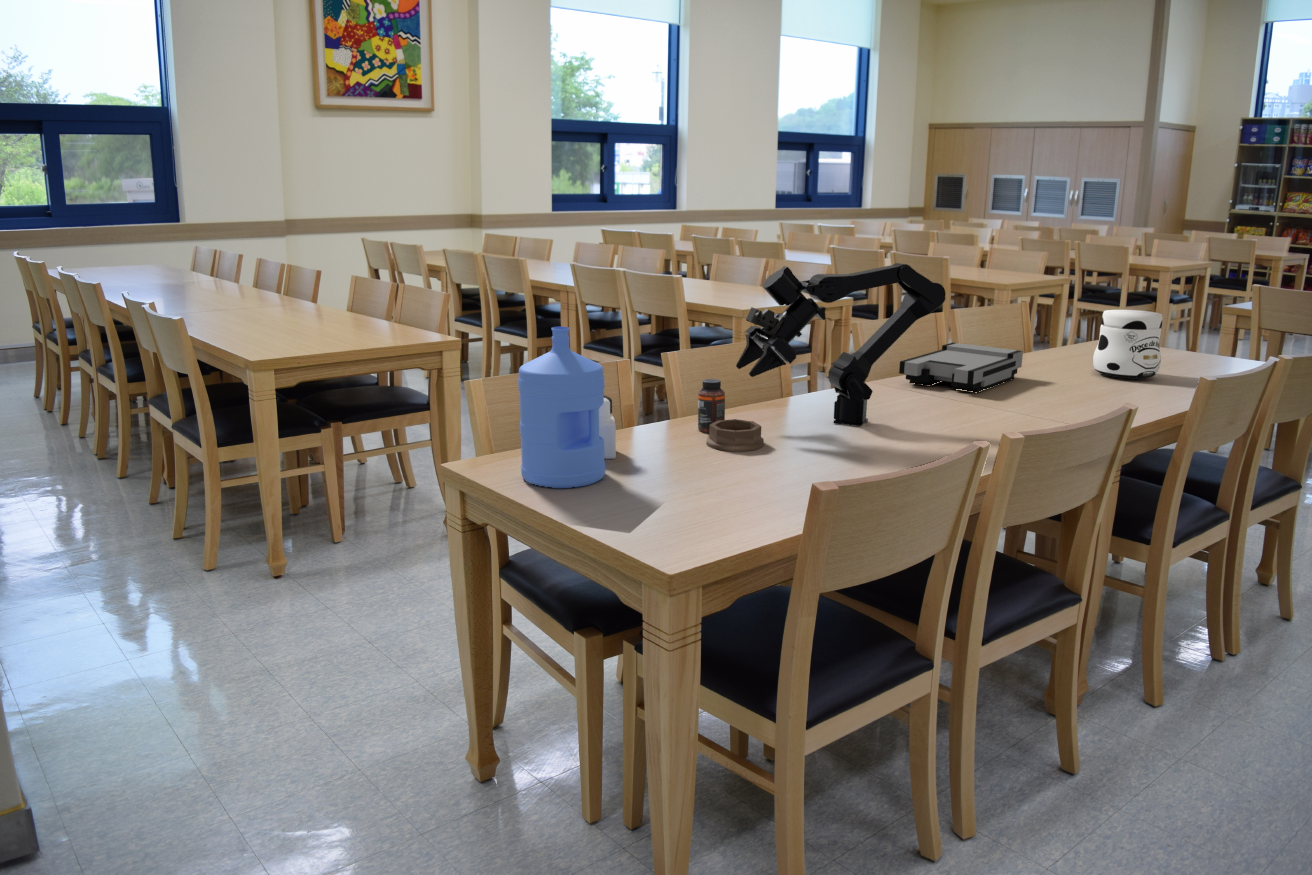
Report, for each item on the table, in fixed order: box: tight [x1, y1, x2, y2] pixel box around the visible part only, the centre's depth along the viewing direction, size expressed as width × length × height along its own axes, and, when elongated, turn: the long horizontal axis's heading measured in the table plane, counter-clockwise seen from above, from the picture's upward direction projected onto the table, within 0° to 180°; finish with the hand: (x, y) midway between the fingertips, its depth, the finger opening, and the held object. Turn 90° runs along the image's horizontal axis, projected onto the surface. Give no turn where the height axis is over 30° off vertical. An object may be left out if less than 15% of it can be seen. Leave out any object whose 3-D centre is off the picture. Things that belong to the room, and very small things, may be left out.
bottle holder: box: [706, 418, 765, 453], centre depth 204 cm, size 12×12×4 cm
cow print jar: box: [1092, 309, 1163, 380], centre depth 274 cm, size 17×17×18 cm
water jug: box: [517, 326, 606, 489], centre depth 178 cm, size 16×16×28 cm
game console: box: [898, 342, 1024, 393], centre depth 266 cm, size 21×32×8 cm, turn 139°
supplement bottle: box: [697, 378, 726, 434], centre depth 214 cm, size 6×6×11 cm
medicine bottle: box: [599, 395, 617, 460], centre depth 194 cm, size 7×7×12 cm
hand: (743, 371), depth 213 cm, fingers open, 9 cm apart
